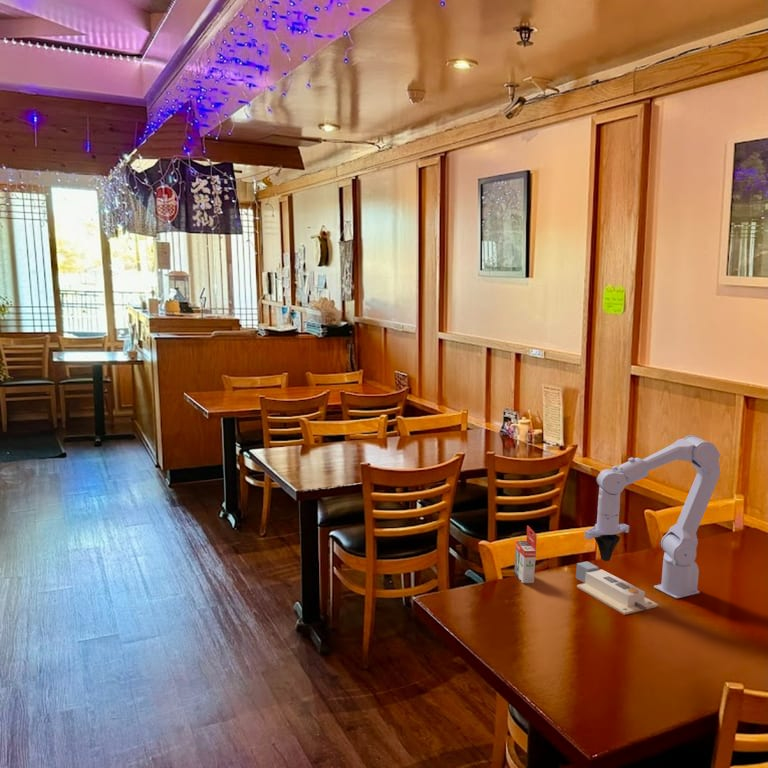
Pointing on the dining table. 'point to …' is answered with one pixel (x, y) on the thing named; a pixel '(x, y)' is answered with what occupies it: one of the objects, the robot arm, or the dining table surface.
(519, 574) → the ink box
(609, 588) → the power strip
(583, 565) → the charger plug
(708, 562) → the dining table surface
